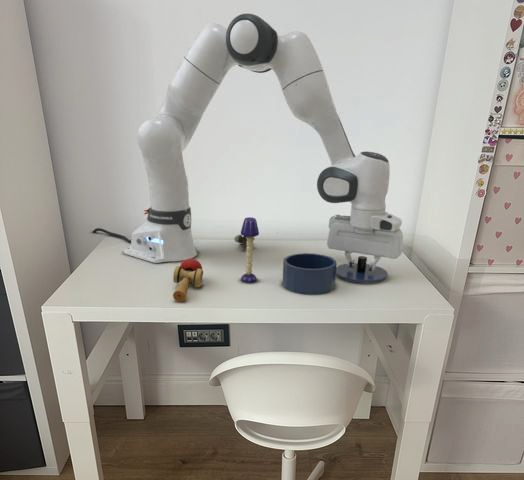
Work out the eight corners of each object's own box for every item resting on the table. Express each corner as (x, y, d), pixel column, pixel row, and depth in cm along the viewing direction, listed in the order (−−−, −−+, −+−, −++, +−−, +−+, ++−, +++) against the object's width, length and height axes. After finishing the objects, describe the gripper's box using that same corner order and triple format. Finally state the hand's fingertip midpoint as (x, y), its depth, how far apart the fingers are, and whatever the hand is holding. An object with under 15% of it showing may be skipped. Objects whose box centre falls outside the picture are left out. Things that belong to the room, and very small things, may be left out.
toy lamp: (261, 280, 134) (262, 217, 126) (252, 285, 131) (252, 221, 123) (246, 276, 136) (246, 215, 128) (237, 281, 133) (236, 218, 125)
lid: (326, 279, 136) (328, 260, 134) (343, 264, 148) (345, 246, 145) (379, 288, 130) (382, 269, 128) (392, 272, 142) (395, 254, 139)
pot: (274, 288, 129) (274, 264, 126) (294, 273, 140) (295, 250, 137) (323, 298, 124) (325, 273, 121) (341, 281, 134) (343, 258, 131)
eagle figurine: (261, 248, 156) (263, 235, 163) (248, 230, 153) (251, 218, 160) (241, 259, 159) (244, 246, 166) (228, 241, 156) (232, 229, 163)
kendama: (199, 307, 120) (210, 272, 135) (192, 284, 117) (204, 251, 131) (168, 311, 121) (182, 276, 136) (161, 288, 118) (176, 255, 132)
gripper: (325, 216, 133) (321, 265, 139) (402, 225, 125) (394, 278, 132) (333, 211, 138) (329, 259, 144) (408, 220, 130) (400, 271, 137)
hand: (361, 268), depth 138 cm, fingers open, 5 cm apart
